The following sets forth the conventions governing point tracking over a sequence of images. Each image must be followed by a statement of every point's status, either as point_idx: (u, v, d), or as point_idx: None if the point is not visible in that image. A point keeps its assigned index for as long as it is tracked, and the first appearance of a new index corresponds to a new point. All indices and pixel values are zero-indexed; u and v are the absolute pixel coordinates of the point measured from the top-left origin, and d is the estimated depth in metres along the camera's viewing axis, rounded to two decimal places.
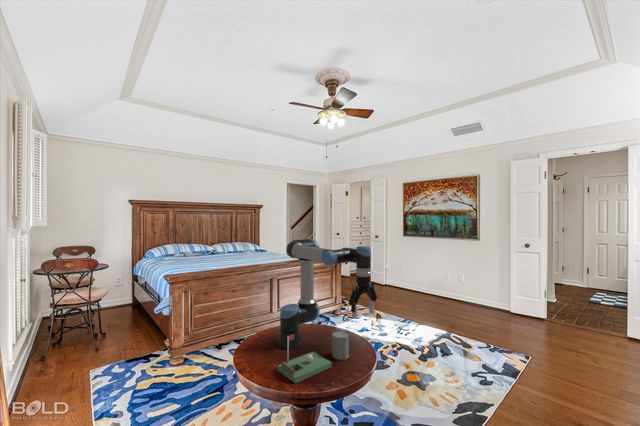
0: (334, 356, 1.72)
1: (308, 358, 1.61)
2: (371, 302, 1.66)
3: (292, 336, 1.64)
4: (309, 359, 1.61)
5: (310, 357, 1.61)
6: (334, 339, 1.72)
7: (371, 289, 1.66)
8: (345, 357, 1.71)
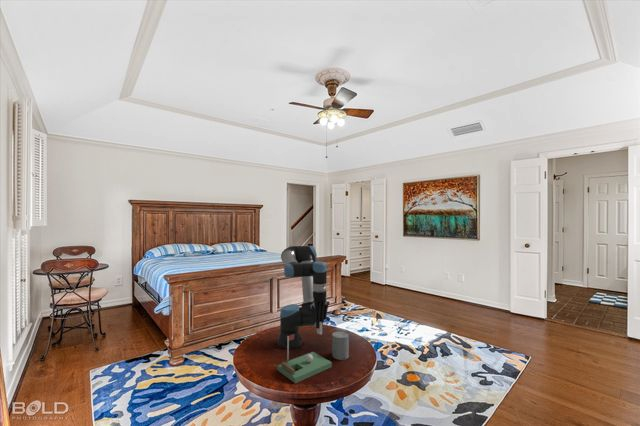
0: (334, 356, 1.72)
1: (308, 358, 1.61)
2: None
3: (292, 336, 1.64)
4: (309, 359, 1.61)
5: (310, 357, 1.61)
6: (334, 339, 1.72)
7: (325, 307, 1.69)
8: (345, 357, 1.71)
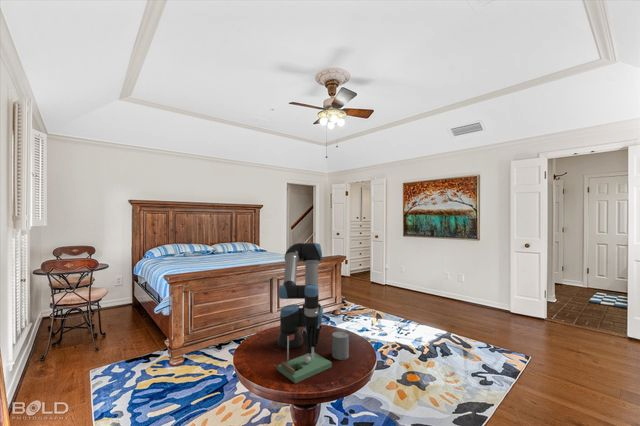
0: (334, 356, 1.72)
1: (306, 361, 1.60)
2: None
3: (292, 336, 1.64)
4: (307, 362, 1.60)
5: (307, 359, 1.60)
6: (334, 339, 1.72)
7: (317, 331, 1.66)
8: (345, 357, 1.71)
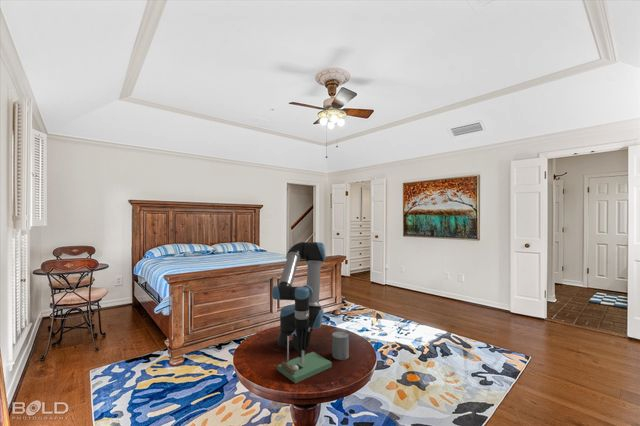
0: (334, 356, 1.72)
1: (295, 366, 1.56)
2: None
3: None
4: (295, 367, 1.55)
5: (297, 367, 1.56)
6: (334, 339, 1.72)
7: (307, 334, 1.62)
8: (345, 357, 1.71)
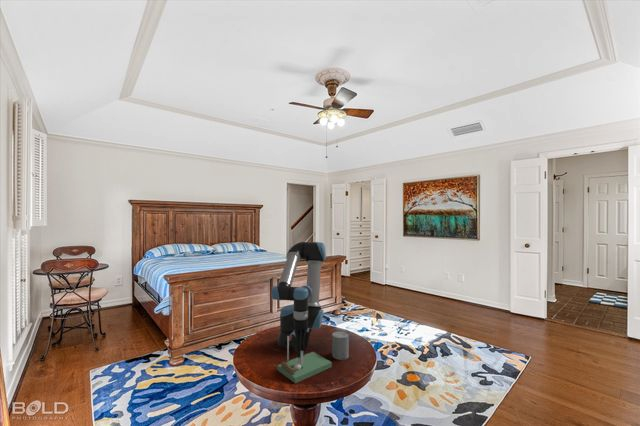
0: (334, 356, 1.72)
1: (300, 365, 1.57)
2: None
3: None
4: (300, 366, 1.57)
5: (300, 367, 1.57)
6: (334, 339, 1.72)
7: (306, 335, 1.61)
8: (345, 357, 1.71)
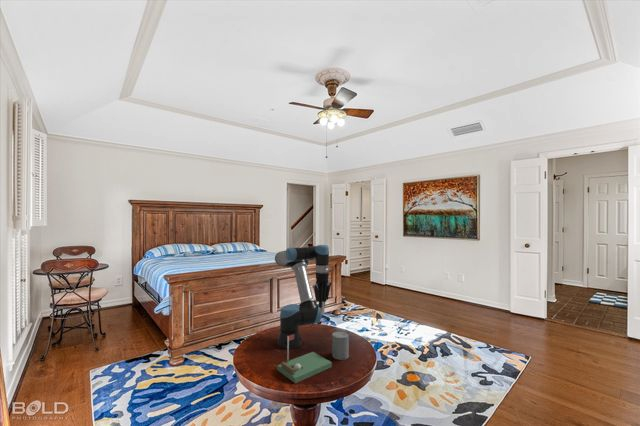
0: (334, 356, 1.72)
1: (300, 365, 1.58)
2: None
3: (292, 336, 1.64)
4: (300, 365, 1.57)
5: None
6: (334, 339, 1.72)
7: (327, 288, 1.79)
8: (345, 357, 1.71)
